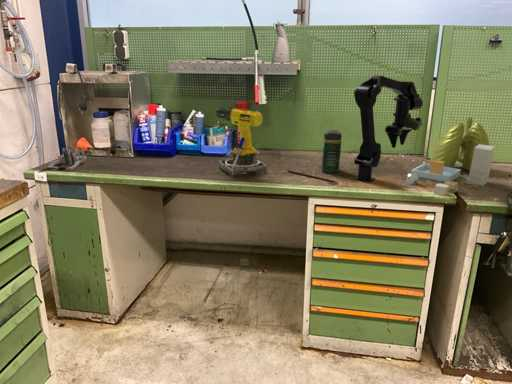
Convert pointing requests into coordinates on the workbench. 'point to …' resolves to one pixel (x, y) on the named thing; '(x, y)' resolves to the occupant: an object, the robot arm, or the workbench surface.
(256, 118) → the cordless drill
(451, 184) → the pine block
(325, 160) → the coffee jar
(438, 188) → the offwhite block
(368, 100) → the robot arm
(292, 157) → the workbench surface
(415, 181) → the grey metal puck
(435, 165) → the orange block
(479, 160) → the skincare box
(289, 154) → the workbench surface
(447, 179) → the parts tray
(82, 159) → the bike brake
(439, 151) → the lungs
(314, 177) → the crowbar
